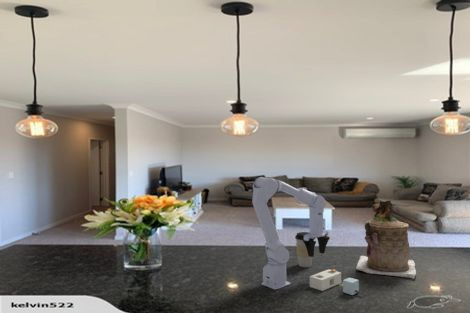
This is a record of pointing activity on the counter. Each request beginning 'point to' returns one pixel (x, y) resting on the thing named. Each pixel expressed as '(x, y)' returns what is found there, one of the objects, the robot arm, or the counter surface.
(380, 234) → the cookie jar
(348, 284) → the charger
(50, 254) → the counter surface
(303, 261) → the coffee cup
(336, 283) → the power strip
